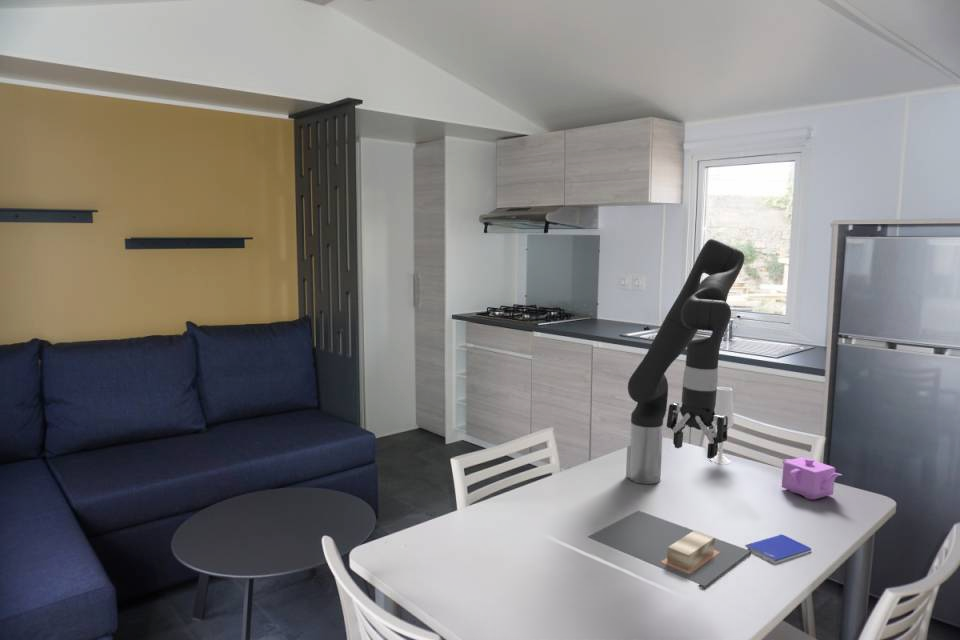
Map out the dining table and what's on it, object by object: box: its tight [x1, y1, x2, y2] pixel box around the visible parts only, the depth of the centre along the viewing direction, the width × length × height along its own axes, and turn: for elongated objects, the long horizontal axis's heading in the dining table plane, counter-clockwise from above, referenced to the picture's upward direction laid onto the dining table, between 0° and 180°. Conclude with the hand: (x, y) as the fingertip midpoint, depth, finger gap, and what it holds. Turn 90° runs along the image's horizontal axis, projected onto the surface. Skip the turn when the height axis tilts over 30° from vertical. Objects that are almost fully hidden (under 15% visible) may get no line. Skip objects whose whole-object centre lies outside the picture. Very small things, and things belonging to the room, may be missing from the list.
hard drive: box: [745, 534, 812, 564], centre depth 151 cm, size 2×8×12 cm
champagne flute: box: [709, 386, 734, 465], centre depth 209 cm, size 7×7×24 cm
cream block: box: [667, 530, 716, 570], centre depth 146 cm, size 12×5×4 cm, turn 134°
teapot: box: [781, 456, 843, 501], centre depth 183 cm, size 18×14×10 cm
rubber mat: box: [587, 510, 752, 589], centre depth 153 cm, size 30×22×1 cm
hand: (694, 452), depth 152 cm, fingers open, 8 cm apart
